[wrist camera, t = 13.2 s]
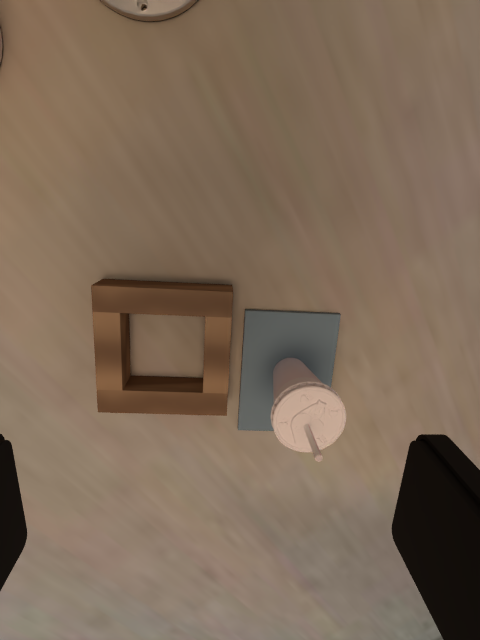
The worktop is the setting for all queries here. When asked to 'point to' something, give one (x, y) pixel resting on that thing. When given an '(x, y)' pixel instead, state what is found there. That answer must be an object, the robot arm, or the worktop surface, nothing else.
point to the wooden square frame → (149, 391)
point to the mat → (281, 356)
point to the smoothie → (305, 409)
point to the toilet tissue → (0, 46)
